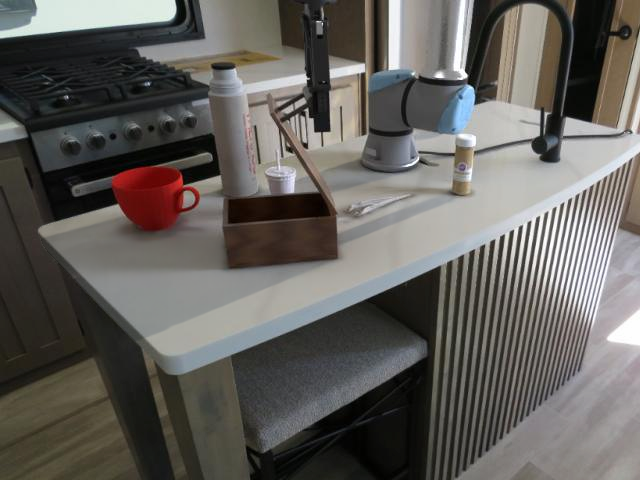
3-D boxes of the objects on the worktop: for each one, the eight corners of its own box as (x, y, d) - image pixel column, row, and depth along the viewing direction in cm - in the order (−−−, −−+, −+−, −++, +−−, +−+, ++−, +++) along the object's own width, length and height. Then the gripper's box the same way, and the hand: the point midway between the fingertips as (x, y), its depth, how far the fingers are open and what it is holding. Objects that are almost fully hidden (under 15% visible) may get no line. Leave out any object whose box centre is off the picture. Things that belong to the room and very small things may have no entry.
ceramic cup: (189, 243, 109) (179, 195, 104) (109, 234, 111) (96, 186, 106) (218, 216, 120) (211, 171, 114) (145, 208, 122) (134, 163, 117)
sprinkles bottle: (452, 195, 133) (457, 138, 125) (450, 188, 136) (454, 132, 129) (471, 195, 133) (477, 139, 125) (469, 188, 137) (474, 133, 129)
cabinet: (229, 268, 101) (222, 226, 97) (229, 237, 112) (223, 197, 107) (338, 258, 106) (336, 217, 101) (328, 229, 116) (327, 190, 111)
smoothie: (288, 205, 125) (282, 143, 118) (305, 214, 122) (300, 151, 114) (263, 213, 122) (255, 149, 114) (280, 223, 118) (274, 157, 110)
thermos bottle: (263, 186, 134) (249, 61, 119) (249, 198, 128) (232, 68, 113) (232, 183, 136) (214, 58, 120) (217, 195, 129) (196, 65, 114)
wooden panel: (269, 114, 89) (312, 89, 88) (265, 94, 99) (303, 72, 99) (334, 216, 101) (372, 194, 100) (325, 189, 111) (359, 169, 111)
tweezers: (359, 218, 121) (359, 209, 120) (345, 211, 124) (345, 203, 123) (417, 203, 131) (418, 195, 130) (404, 197, 134) (404, 189, 133)
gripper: (282, -31, 93) (292, 109, 105) (292, -23, 76) (303, 143, 88) (327, -30, 95) (332, 108, 107) (347, -22, 78) (350, 141, 90)
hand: (319, 124), depth 98 cm, fingers closed on wooden panel, 8 cm apart
